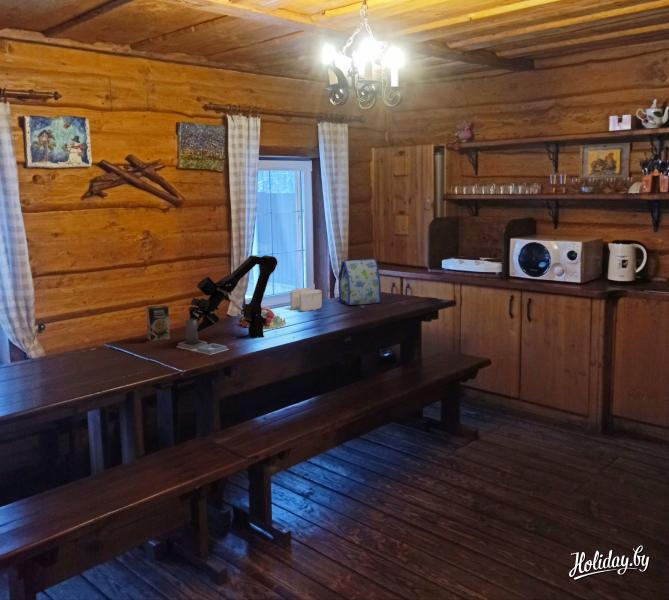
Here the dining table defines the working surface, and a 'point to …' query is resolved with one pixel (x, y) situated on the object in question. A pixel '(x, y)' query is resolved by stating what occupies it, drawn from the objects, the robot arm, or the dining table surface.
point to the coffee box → (158, 322)
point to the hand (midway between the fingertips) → (192, 329)
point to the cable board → (203, 347)
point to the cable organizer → (306, 299)
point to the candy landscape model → (270, 319)
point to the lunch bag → (359, 282)
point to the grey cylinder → (191, 331)
